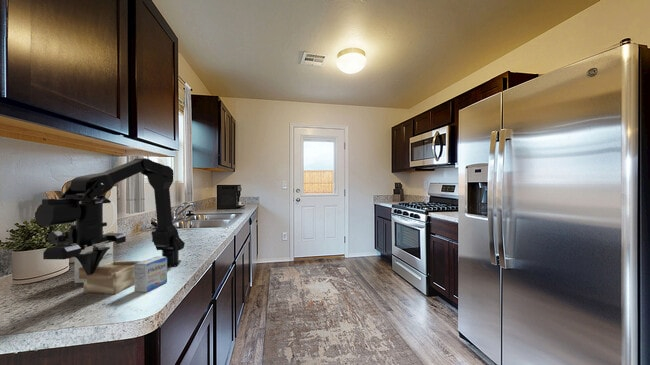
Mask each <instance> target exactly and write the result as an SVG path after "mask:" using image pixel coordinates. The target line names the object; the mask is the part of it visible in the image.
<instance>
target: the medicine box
mask: <svg viewBox="0 0 650 365" xmlns="http://www.w3.org/2000/svg"><path fill="white" fill-rule="evenodd" d="M141 261H142V262H139V263H136V264H134V276H135V284H134V292H139V293H141V292H142V293H148V292H150V291H152V290H154V289H156V288H158V287H160V286H162V285H164V284H167V283H168V267H167V257H163V256H162V255H160V256H156V255H155V256H153V257H151V258H148V259H145V260H141Z"/></svg>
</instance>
